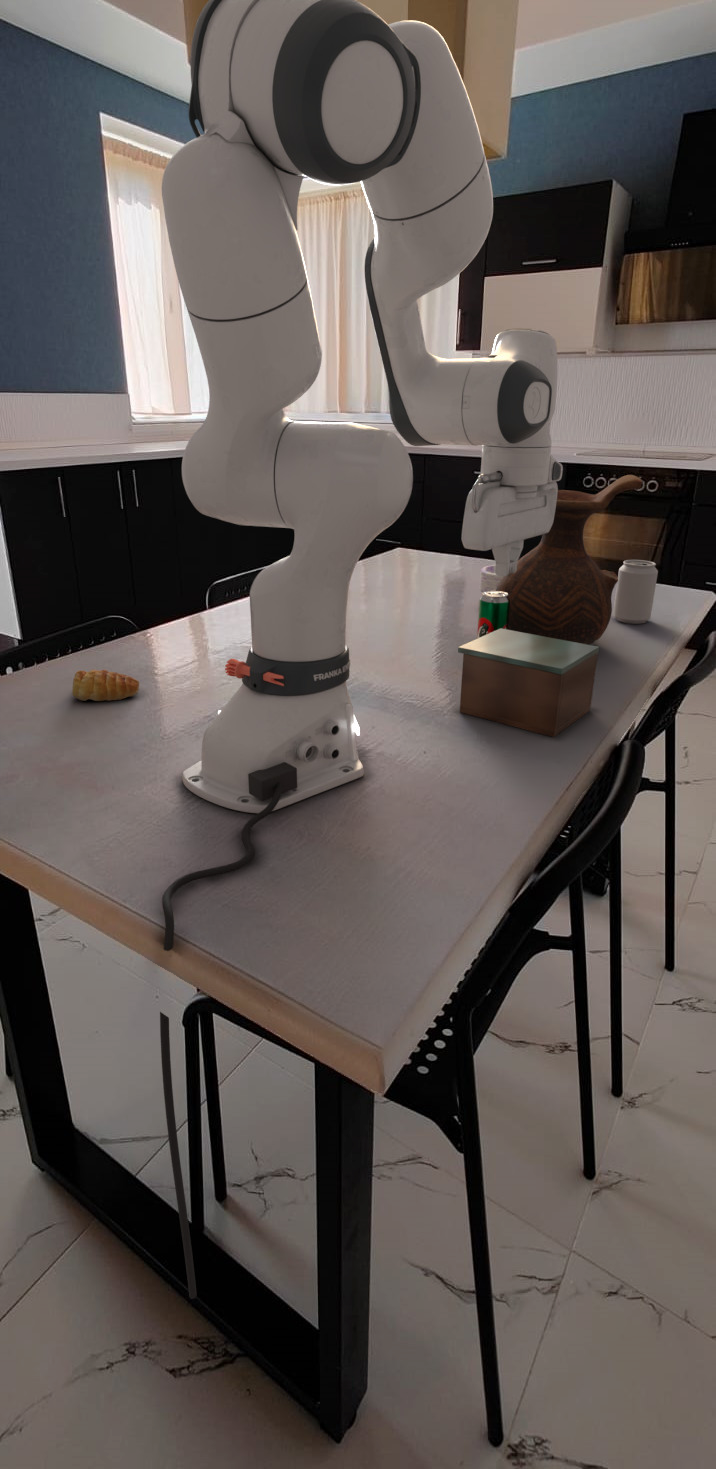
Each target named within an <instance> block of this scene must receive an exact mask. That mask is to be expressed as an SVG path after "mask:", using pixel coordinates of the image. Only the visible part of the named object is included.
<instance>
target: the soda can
mask: <svg viewBox="0 0 716 1469" xmlns="http://www.w3.org/2000/svg"><path fill="white" fill-rule="evenodd" d="M508 596H509V594H508V593H506V592H501V591H486V592H483V593H482V592H481V596H480V598H479V602H478V603H479V604H478V616H477V629H476V639H478V638H480V637H482V636H484V635H487V634H489V633H491V632H494V631H496V630H498V629H500V628H501V629H507V630H508V622H509V611H510V599H509V597H508Z"/></svg>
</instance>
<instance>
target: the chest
mask: <svg viewBox="0 0 716 1469" xmlns="http://www.w3.org/2000/svg"><path fill="white" fill-rule="evenodd" d="M462 654H463V653H462ZM598 656H599V652H598V653H596V654H594V655H593V656H591V657H590V658H588V659H586V660H585V661H583V662H581V663H580V664H578V665H576V666H575V667H573V668H571V669H570V670H568V671H567V672H565V673H563V674H562V675H561V674H556V673H552V672H547V671H542V670H538V669H533V668H528V667H524V666H519V665H514V664H510V663H505V662H500V661H496V660H491V659H486V658H482V657H477V656H472V655H468V654H463V655H462V657H463V658H462V670H461V684H460V685H461V686H460V698H459V699H460V701H459V713H462V714H466V715H469V716H473V717H477V718H481V719H483V720H484V719H485V720H488V721H491V722H496V723H498V724H499V723H500V724H503V725H507V726H510V727H514V728H518V729H521V730H525V731H526V730H527V731H528V732H533V733H537V734H539V735H544V736H548V737H552V738H555V737H556V736H557V735H559V734H560V733H562V732H563V731H564V730H566V729H567V728H568V727H570V726H571V725H572V724H574V723H575V722H577V721H578V720H579V719H581V718H582V717H583V716H584V715H586V714H588V713H589V712H590V711H591V707H592V701H593V692H594V686H595V679H596V672H597V666H598V658H599V657H598Z"/></svg>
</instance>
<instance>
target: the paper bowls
mask: <svg viewBox="0 0 716 1469" xmlns="http://www.w3.org/2000/svg"><path fill="white" fill-rule="evenodd" d="M495 570H496V564H491V565H487V566H484V567H482V568H481V569H480V576H479V591H480V592H481V594H482V593H483V592H486V591H495V589H496V587H497V585H498V584H499V582H500V581H501V579H502V578H503V576H498V575H496V573H495Z"/></svg>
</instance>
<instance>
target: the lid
mask: <svg viewBox="0 0 716 1469" xmlns="http://www.w3.org/2000/svg"><path fill="white" fill-rule="evenodd" d="M599 650H600V647H599V646H597V645H592V644H589V645H587V644H581V643H576V642H571V641H565V640H560V639H555V638H549V637H544V636H539V635H533V634H528V633H523V632H517V631H512V630H507V629H501V628H500V629H498V630H496V631H494V632H491V633H489V634H487V635H484V636H482V637H480V638H478V639H477V638H476V639H473V640H471V641H469V642H467V643H464V644H462V645H460V646H458V647H457V653H459V654H468V655H472V656H477V657H482V658H486V659H491V660H496V661H500V662H505V663H510V664H514V665H519V666H524V667H528V668H533V669H538V670H542V671H547V672H552V673H556V674H561V675H562V674H563V673H565V672H567V671H568V670H570V669H571V668H573V667H575V666H576V665H578V664H580V663H581V662H583V661H585V660H586V659H588V658H590V657H591V656H593V655H594V654H596V653H598V654H599Z"/></svg>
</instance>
